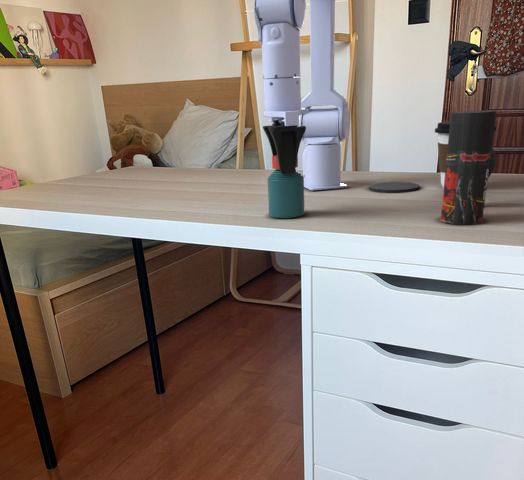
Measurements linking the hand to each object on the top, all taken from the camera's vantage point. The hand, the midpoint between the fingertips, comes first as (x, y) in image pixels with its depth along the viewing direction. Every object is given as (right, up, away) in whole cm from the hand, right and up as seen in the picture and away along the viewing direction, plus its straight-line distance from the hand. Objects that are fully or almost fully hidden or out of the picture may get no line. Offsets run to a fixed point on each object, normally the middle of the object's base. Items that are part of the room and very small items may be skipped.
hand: (285, 171), depth 86 cm
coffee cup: (+35, +3, +18) cm, 40 cm away
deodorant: (+26, -10, -7) cm, 29 cm away
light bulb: (+31, -5, +2) cm, 32 cm away
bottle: (0, -6, +3) cm, 7 cm away
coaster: (+23, +4, +21) cm, 32 cm away
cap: (0, +2, -1) cm, 2 cm away
